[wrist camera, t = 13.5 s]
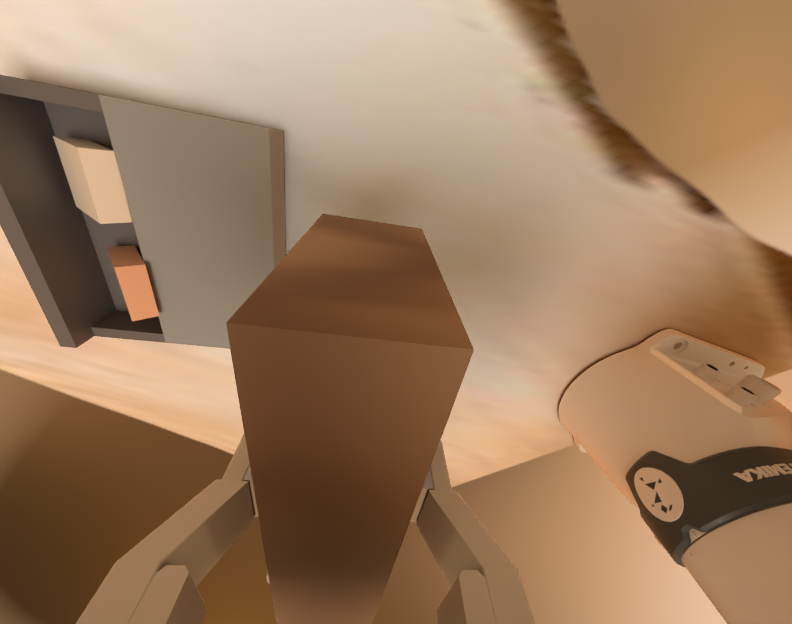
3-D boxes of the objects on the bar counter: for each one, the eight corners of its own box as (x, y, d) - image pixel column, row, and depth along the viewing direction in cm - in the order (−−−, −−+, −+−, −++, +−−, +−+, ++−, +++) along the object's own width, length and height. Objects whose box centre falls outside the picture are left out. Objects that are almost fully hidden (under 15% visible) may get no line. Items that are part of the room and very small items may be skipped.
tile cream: (114, 151, 16) (77, 147, 15) (132, 222, 18) (100, 224, 17) (88, 139, 18) (52, 135, 17) (107, 206, 20) (76, 206, 19)
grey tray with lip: (283, 130, 19) (259, 125, 15) (287, 332, 26) (271, 364, 22) (25, 79, 17) (-83, 58, 13) (110, 314, 24) (60, 346, 20)
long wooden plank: (421, 228, 9) (473, 349, 4) (372, 471, 15) (366, 638, 10) (323, 213, 8) (226, 323, 3) (315, 468, 15) (279, 639, 10)
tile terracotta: (145, 264, 19) (114, 267, 18) (159, 315, 21) (132, 321, 20) (134, 245, 21) (106, 246, 20) (148, 293, 23) (123, 297, 22)
